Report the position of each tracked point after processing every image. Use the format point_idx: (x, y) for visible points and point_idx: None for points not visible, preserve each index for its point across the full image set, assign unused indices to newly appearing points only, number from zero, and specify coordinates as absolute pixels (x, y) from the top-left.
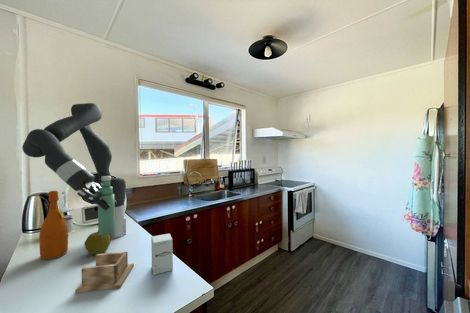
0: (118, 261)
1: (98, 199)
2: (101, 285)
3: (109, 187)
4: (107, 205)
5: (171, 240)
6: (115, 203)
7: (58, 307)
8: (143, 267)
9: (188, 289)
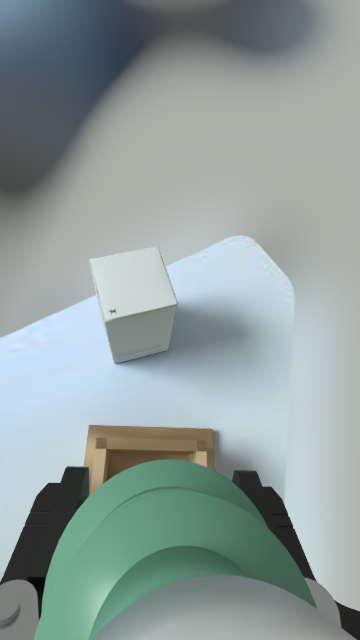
0: (178, 444)
1: (341, 620)
2: None
3: (260, 522)
4: (261, 493)
5: (158, 251)
6: (88, 477)
7: None
8: (111, 389)
9: (240, 268)
